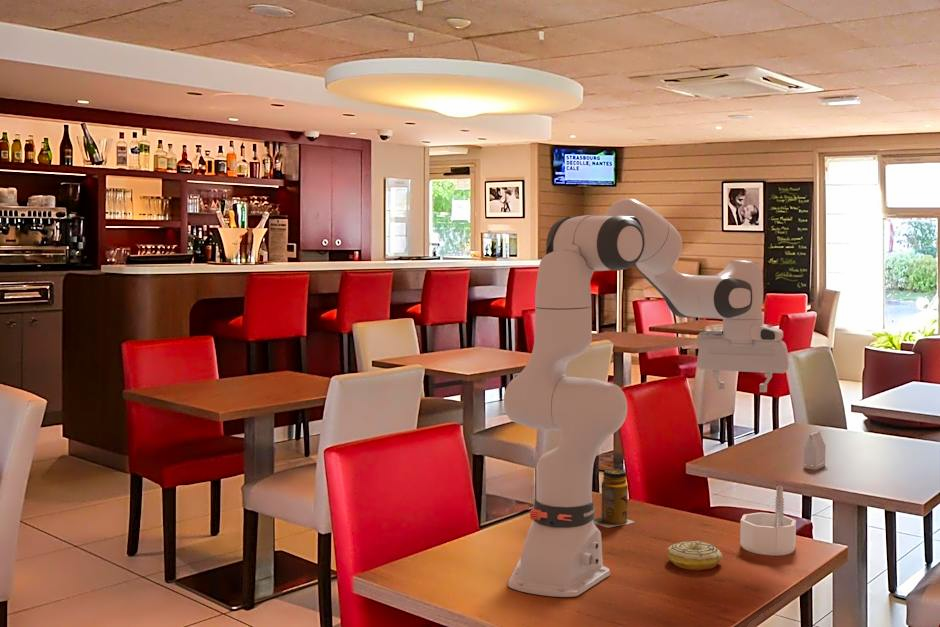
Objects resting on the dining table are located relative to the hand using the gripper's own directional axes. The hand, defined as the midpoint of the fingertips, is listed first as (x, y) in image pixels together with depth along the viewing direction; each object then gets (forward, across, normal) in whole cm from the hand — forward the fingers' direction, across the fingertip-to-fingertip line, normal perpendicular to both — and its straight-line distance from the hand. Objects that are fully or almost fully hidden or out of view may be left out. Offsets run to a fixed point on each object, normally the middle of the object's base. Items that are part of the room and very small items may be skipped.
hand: (741, 390), depth 221 cm
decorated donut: (+32, -5, -32) cm, 45 cm away
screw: (+30, +10, -16) cm, 36 cm away
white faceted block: (+32, +12, +66) cm, 74 cm away
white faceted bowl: (+31, +8, -16) cm, 36 cm away
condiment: (+31, -28, -10) cm, 43 cm away
